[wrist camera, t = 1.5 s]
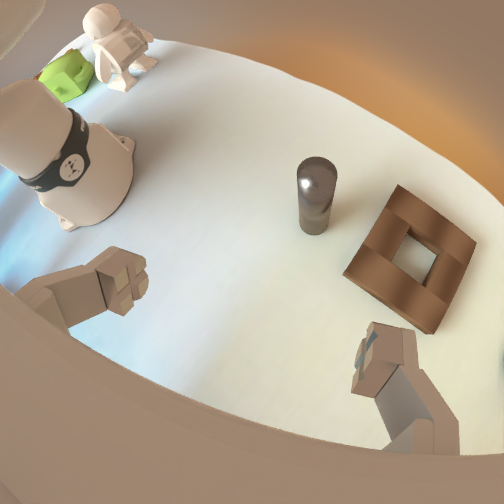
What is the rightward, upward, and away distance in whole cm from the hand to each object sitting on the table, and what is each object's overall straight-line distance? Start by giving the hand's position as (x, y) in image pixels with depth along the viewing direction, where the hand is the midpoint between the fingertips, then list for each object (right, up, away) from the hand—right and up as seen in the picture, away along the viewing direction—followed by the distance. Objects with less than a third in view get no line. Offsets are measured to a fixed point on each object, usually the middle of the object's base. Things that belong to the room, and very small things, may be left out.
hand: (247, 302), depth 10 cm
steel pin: (+8, +5, +26) cm, 28 cm away
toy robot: (-24, +38, +40) cm, 61 cm away
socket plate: (+20, +1, +23) cm, 30 cm away
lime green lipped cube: (-44, +40, +44) cm, 74 cm away
